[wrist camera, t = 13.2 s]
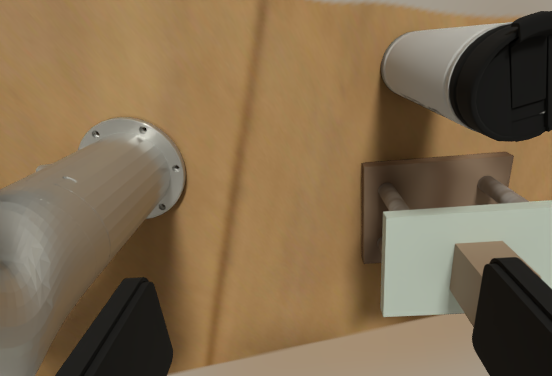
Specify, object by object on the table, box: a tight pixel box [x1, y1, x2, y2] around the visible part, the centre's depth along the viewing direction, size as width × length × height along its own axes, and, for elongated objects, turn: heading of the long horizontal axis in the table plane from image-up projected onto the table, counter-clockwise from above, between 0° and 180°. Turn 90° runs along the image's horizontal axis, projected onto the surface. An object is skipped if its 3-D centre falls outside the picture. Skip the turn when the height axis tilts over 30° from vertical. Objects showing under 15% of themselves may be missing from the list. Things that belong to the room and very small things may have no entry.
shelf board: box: [380, 200, 552, 327], centre depth 29 cm, size 16×11×6 cm
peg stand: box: [362, 152, 529, 264], centre depth 37 cm, size 16×13×10 cm
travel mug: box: [381, 11, 552, 142], centre depth 26 cm, size 6×7×20 cm
